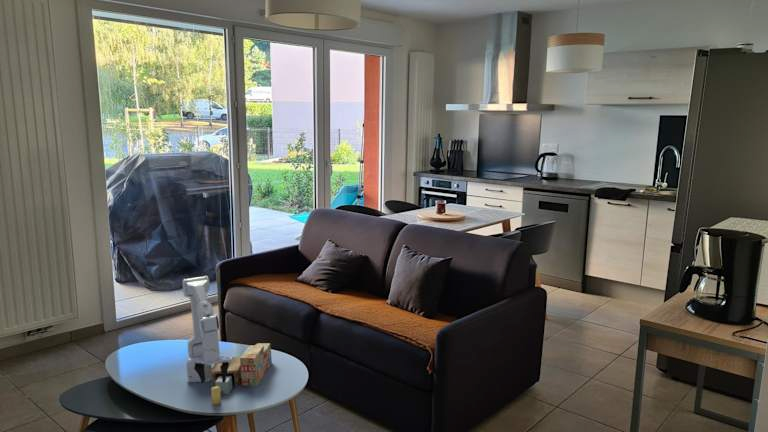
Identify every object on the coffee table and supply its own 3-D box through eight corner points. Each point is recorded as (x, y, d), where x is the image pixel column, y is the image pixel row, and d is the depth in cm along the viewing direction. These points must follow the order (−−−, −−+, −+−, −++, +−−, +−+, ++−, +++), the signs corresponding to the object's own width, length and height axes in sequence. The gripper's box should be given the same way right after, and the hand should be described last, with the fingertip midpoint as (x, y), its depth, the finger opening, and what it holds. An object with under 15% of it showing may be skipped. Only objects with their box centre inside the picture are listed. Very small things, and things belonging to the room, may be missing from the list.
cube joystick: (208, 405, 201) (207, 390, 200) (220, 387, 215) (218, 373, 214) (221, 404, 201) (220, 390, 200) (232, 387, 215) (231, 373, 214)
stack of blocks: (258, 362, 237) (256, 336, 235) (272, 363, 237) (270, 336, 235) (241, 385, 216) (239, 357, 214) (256, 386, 216) (254, 357, 214)
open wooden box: (211, 387, 215) (210, 371, 214) (220, 373, 228) (218, 357, 227) (238, 386, 215) (237, 370, 214) (246, 372, 228) (244, 356, 227)
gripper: (187, 352, 194) (190, 387, 196) (227, 351, 194) (230, 386, 197) (193, 344, 201) (196, 378, 203) (232, 343, 201) (235, 377, 204)
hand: (213, 381), depth 200 cm, fingers open, 7 cm apart
